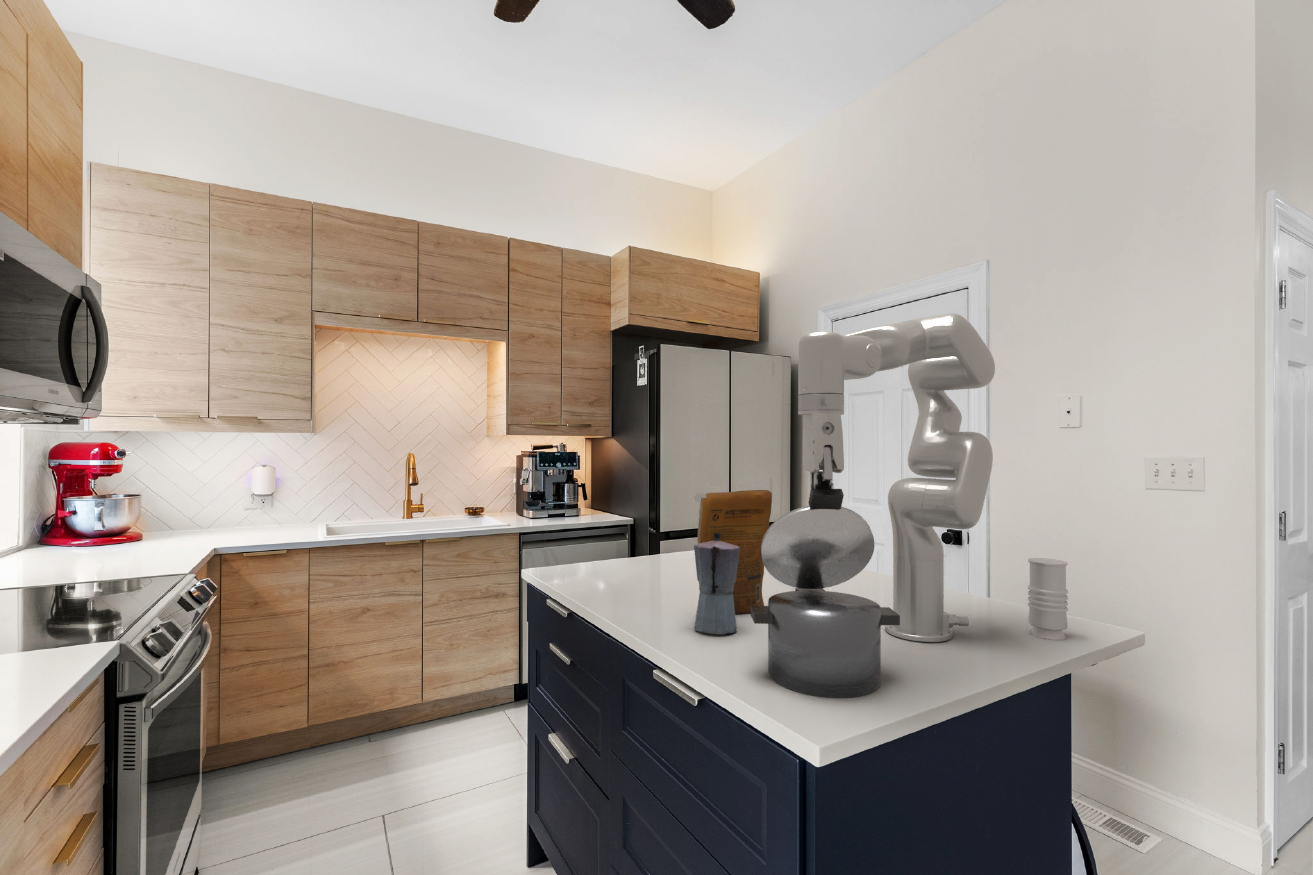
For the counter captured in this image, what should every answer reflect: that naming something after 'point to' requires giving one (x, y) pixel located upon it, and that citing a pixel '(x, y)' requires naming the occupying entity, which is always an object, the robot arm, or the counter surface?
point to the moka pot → (716, 586)
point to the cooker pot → (824, 641)
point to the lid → (818, 543)
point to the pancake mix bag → (739, 537)
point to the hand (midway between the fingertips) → (820, 514)
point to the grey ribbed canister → (1047, 598)
